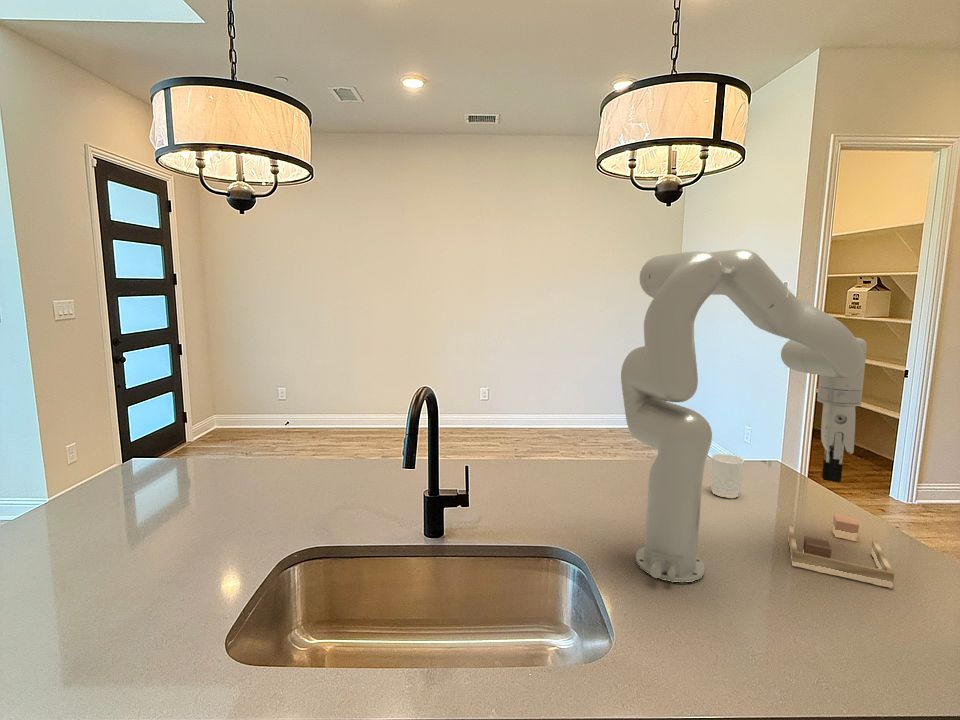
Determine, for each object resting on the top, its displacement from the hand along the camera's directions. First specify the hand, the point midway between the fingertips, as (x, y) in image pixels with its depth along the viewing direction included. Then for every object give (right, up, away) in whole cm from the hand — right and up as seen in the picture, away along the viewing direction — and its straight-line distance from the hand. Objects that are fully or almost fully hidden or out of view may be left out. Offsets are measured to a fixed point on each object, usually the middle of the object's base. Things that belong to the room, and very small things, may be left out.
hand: (831, 479), depth 107 cm
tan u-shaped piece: (-4, -15, -6) cm, 16 cm away
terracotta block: (+6, -14, +4) cm, 16 cm away
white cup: (-10, -11, +27) cm, 31 cm away
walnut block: (-8, -15, -6) cm, 18 cm away
